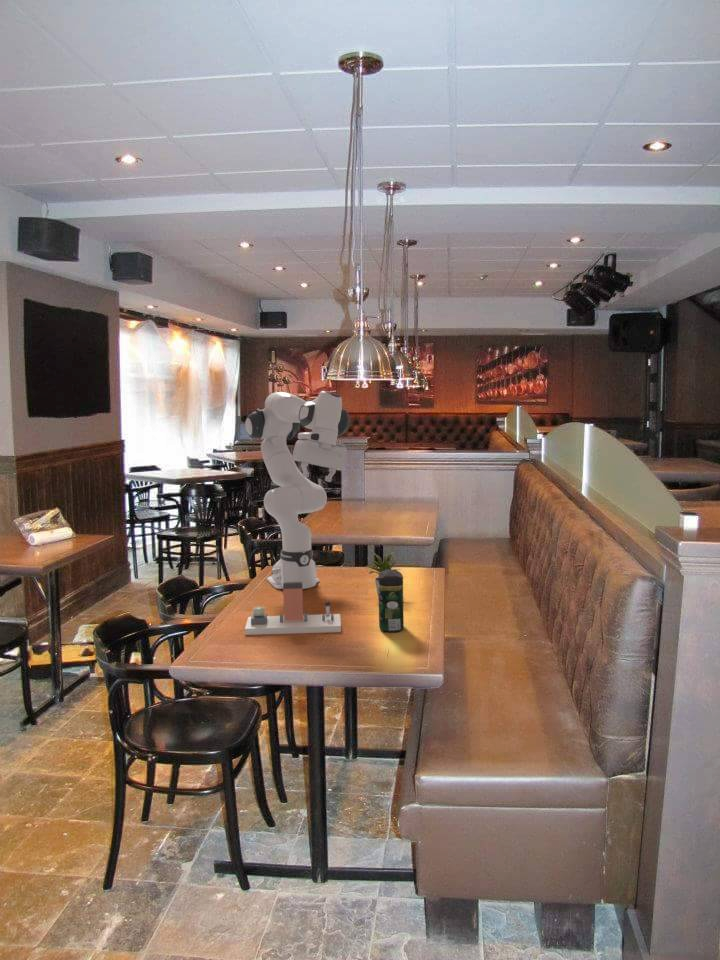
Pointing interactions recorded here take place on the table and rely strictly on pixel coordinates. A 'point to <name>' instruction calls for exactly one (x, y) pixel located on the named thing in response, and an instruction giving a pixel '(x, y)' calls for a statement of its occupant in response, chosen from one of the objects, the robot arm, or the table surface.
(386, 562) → the house plant
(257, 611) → the push button
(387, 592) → the coffee jar
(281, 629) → the control panel
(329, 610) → the toggle lever
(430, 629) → the table surface
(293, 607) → the paddle
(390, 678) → the table surface
